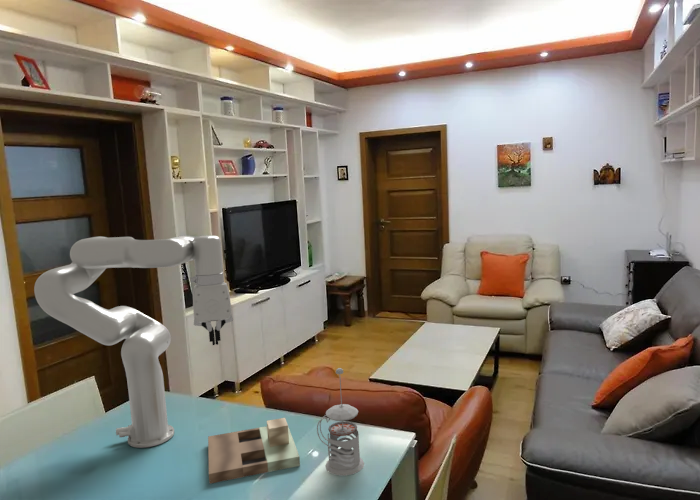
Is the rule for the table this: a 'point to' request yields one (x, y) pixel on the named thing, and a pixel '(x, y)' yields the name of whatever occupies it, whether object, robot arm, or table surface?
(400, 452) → the table surface
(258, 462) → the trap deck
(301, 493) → the table surface
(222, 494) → the table surface
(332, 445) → the french press
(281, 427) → the maple block
